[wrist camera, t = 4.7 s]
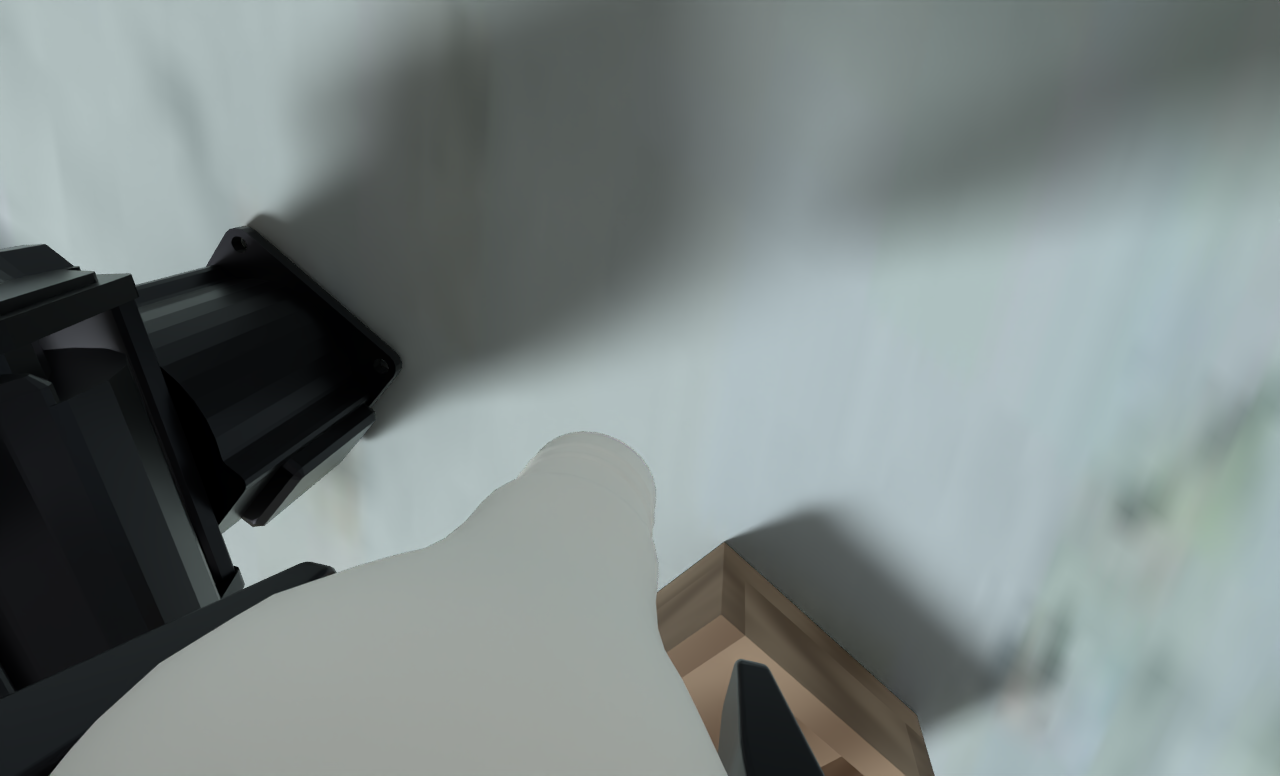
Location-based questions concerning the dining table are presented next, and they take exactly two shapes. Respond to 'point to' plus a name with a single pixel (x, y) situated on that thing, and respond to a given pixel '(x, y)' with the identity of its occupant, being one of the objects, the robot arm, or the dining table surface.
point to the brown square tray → (784, 668)
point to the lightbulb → (441, 654)
